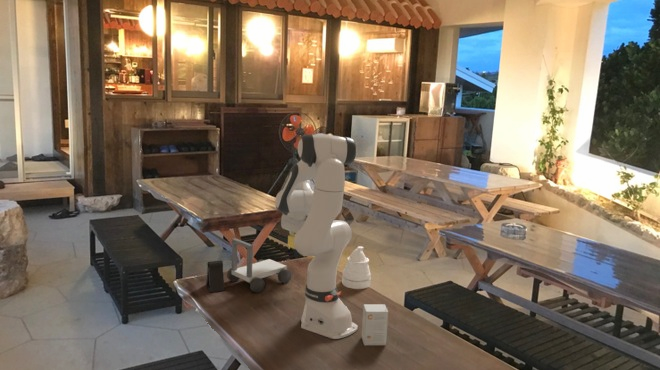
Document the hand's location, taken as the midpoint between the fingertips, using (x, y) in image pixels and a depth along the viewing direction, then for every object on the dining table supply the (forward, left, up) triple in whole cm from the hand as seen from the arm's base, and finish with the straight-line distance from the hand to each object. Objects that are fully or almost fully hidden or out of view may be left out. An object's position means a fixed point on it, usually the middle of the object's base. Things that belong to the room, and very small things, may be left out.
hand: (298, 242), depth 246 cm
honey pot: (-22, -16, -17) cm, 32 cm away
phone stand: (+15, +35, -17) cm, 42 cm away
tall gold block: (0, 0, -2) cm, 2 cm away
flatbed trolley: (+8, +16, -17) cm, 25 cm away
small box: (-61, +21, -17) cm, 67 cm away
